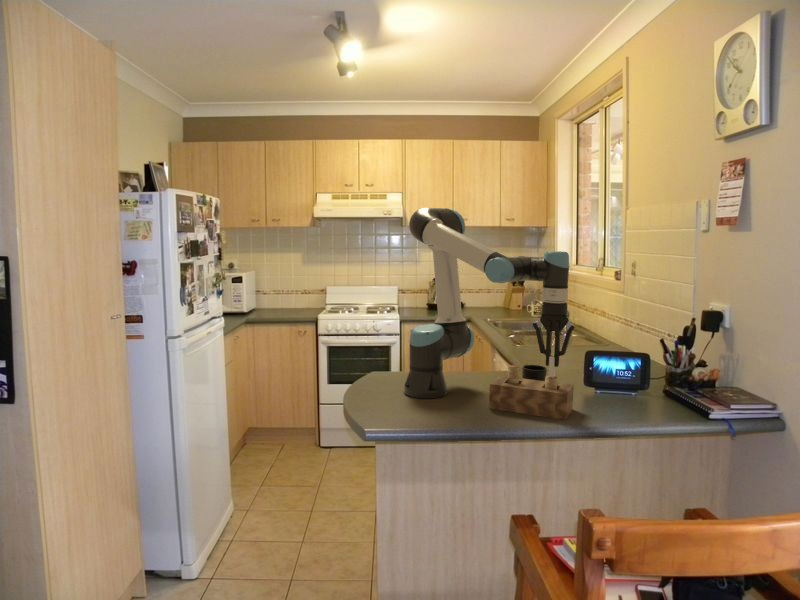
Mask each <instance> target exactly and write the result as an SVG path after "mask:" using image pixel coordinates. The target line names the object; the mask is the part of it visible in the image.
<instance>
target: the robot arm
mask: <svg viewBox="0 0 800 600" xmlns="http://www.w3.org/2000/svg"><path fill="white" fill-rule="evenodd" d="M410 216H411V217H410V218H409V223H408V228H409V231H410V234H411V235H412V237H413V238H414V239H416V240H417V241H419V242H421V243H422V244H424V245H426V246H427V247H428V249H429V250H431V251H432V256H433V257H432V259H433V270H434V271H433V272H434V281H435V282H434V284H435V292H436V293H435V294H436V295H435V297H436V306H437V318H436V319H435V321H434V323H429V324H420V325H416V326H414V327H413V328H412V329H411V330H410V333H409V341H408V343H409V365H408V366H409V369H408V374H407V377H406V380H405V382H404V385H403V392H404V394H405V395H406V396H409V397H412V398H418V399H437V398H442V397H445V396H446V395H448V384H447V381H446V379H445V378H446V377H445V375H444V361H445V360H449V359H453V358H460V357H462V356H465V355H467V354H468V353H469V352H471V350H472V348H473V346H474V343H475V334H474V331H473V329H471V327H470V326H469V325H468V323H467V319H466V318H465V317H464V316H463V314H462V302H461V291H460V289H461V287H460V278H459V265H458V260H459V261H461V262H464V263H466V264H467V265H469V266H471V267H473V268H475V269H476V270H478V271H480V272H482V273H484V274H485V276H486V277H487V280H488V281H490V282H492V283H496V284H506V283H514V282H525V281H527V282H528V281H532V282H542V296H541V297H542V300H543V301H542V303H541V316H540V317H539V320H537V321H535V322H533V323H532V327H533V328H534V329H535V334H536V338H537V342H538V349H539V352H540V354H543V355H545V366H546V367H548V376H549V377H552V378H554V376H556V367H557V368H558V367H559V365H560V357H561V356H564V355H565V354H566V353H567V349H568V346H569V343H570V340H571V337H572V333H573V331H574V330H575V329H576V325H575V324H573V323H571V322H570V321H569V318H568V303H567V301H568V299H569V274H570V254H569V252H567V251H561V250H560V251H556V250H552V251H550V250H549V251H548V250H547V251H545V252H544V254H543V256H539V257H536V256H523V255H522V256H521V255H520V256H513V257H510V256H506V255H504V254H502V253H500V252H498V251H496V250H494V249H493V248H490V247H488V246H487V245H484V244H482V243H480V242H478V241H477V240H475V239H472V238H470V237H469V236H467V235H465V231H466V223H465V220H464V217H463V216H462V215H461V214H460V213H459V212H458V211H457V210H455V209H450V208H439V207H438V208H436V207H422V208H418V209H417V210H416V211H415V212H413V214H412V215H410ZM542 326H543V328H544V330H545V331H546V332H545V333H546V339H545V340H546V341H544V336H543V333H542V328H541V327H542ZM565 327H566V330H567V331H566V333H565V337H564V341H563V343H562V347H561V333H562V330H563V329H564V328H565ZM553 332H554V354H552V343H553V342H552V339H553Z"/></svg>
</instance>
